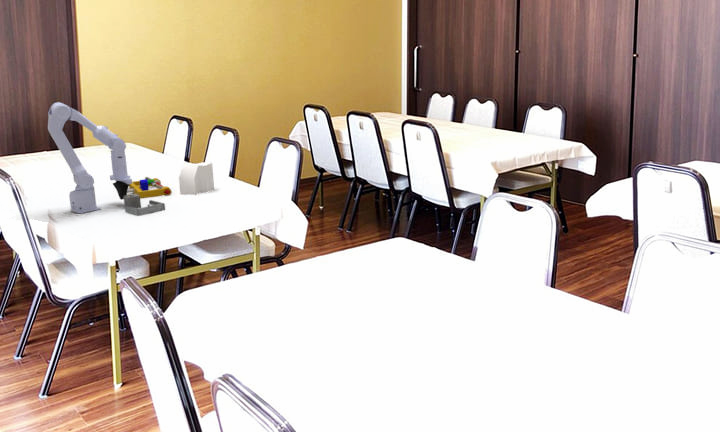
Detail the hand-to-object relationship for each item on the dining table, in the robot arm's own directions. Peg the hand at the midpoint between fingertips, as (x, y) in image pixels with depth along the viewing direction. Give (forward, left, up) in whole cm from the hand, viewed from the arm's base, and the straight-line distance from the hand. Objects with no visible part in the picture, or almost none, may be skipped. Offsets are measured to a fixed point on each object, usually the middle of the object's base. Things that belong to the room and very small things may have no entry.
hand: (123, 198), depth 323 cm
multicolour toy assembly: (+19, +16, -3) cm, 25 cm away
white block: (+33, -5, -3) cm, 33 cm away
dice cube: (0, -8, -3) cm, 8 cm away
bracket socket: (0, -16, -2) cm, 17 cm away
